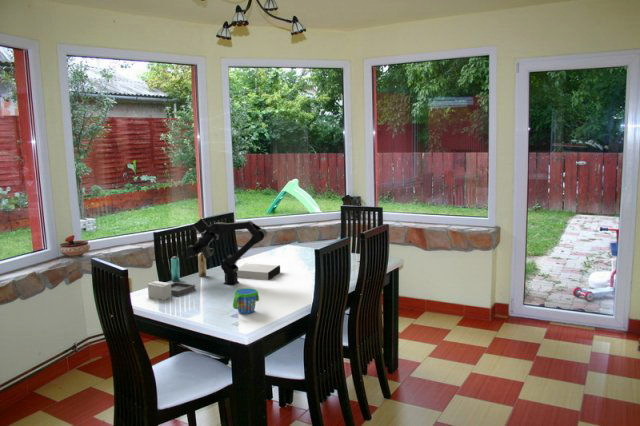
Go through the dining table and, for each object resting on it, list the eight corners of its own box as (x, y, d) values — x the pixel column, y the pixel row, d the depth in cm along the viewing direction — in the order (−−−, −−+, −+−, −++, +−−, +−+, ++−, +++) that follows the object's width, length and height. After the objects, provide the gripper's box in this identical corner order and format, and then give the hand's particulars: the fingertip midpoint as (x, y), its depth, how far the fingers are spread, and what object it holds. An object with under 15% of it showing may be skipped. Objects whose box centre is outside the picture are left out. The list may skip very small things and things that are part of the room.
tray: (195, 289, 276) (194, 285, 275) (177, 296, 264) (177, 291, 264) (176, 286, 282) (176, 281, 281) (159, 292, 270) (159, 287, 270)
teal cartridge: (181, 280, 295) (180, 256, 293) (176, 281, 291) (175, 258, 289) (175, 279, 297) (174, 255, 295) (170, 280, 293) (169, 257, 291)
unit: (171, 296, 264) (171, 283, 263) (163, 299, 258) (162, 286, 257) (157, 293, 268) (156, 280, 267) (148, 297, 263) (147, 283, 262)
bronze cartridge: (207, 275, 305) (207, 252, 303) (203, 277, 301) (202, 254, 299) (202, 274, 307) (201, 252, 305) (197, 276, 303) (196, 253, 301)
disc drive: (269, 280, 296) (269, 272, 295) (233, 277, 302) (233, 269, 301) (280, 273, 312) (280, 265, 312) (246, 270, 319) (246, 262, 318)
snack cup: (251, 305, 250) (250, 285, 248) (266, 310, 243) (266, 289, 241) (226, 313, 238) (225, 292, 236) (241, 318, 231) (240, 297, 230)
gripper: (209, 253, 278) (191, 272, 282) (221, 246, 296) (204, 264, 300) (195, 238, 278) (177, 257, 282) (208, 232, 297) (191, 250, 300)
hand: (188, 257), depth 291 cm, fingers open, 3 cm apart
